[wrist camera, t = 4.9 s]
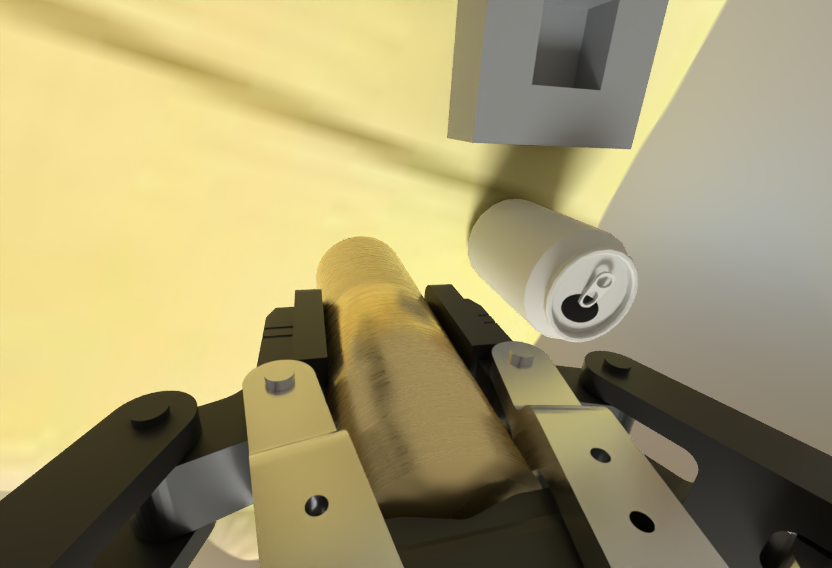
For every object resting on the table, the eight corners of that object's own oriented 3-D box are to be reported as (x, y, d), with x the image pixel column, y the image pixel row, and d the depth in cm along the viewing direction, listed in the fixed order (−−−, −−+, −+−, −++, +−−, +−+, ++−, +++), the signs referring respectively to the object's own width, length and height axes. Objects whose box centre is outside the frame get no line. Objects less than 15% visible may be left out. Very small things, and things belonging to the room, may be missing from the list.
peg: (315, 236, 13) (331, 478, 5) (404, 236, 14) (566, 441, 5) (317, 318, 15) (335, 633, 6) (400, 313, 16) (524, 583, 7)
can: (448, 264, 33) (515, 336, 23) (489, 181, 31) (584, 217, 21) (517, 290, 36) (605, 364, 25) (558, 215, 34) (673, 263, 23)
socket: (463, -68, 24) (498, -108, 20) (624, -38, 27) (685, -67, 23) (447, 137, 29) (472, 142, 24) (585, 143, 32) (630, 149, 27)
